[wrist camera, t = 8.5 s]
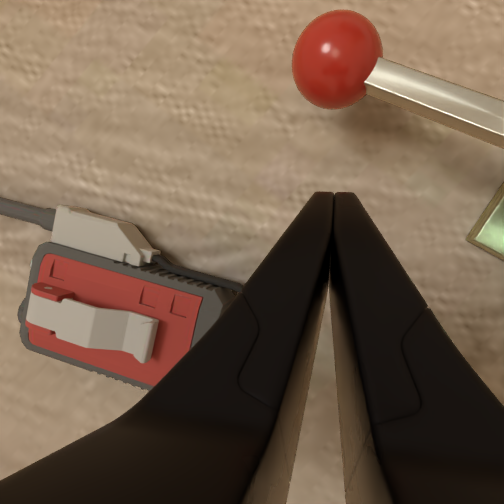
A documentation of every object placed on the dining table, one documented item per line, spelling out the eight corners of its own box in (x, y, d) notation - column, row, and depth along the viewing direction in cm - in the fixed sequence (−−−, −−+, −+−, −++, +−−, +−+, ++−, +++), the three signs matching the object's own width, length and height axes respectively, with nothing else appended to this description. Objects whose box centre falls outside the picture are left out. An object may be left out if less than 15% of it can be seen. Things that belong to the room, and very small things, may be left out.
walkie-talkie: (266, 254, 21) (-21, 180, 25) (251, 260, 17) (-95, 169, 20) (232, 397, 22) (-41, 305, 26) (208, 438, 18) (-116, 320, 21)
